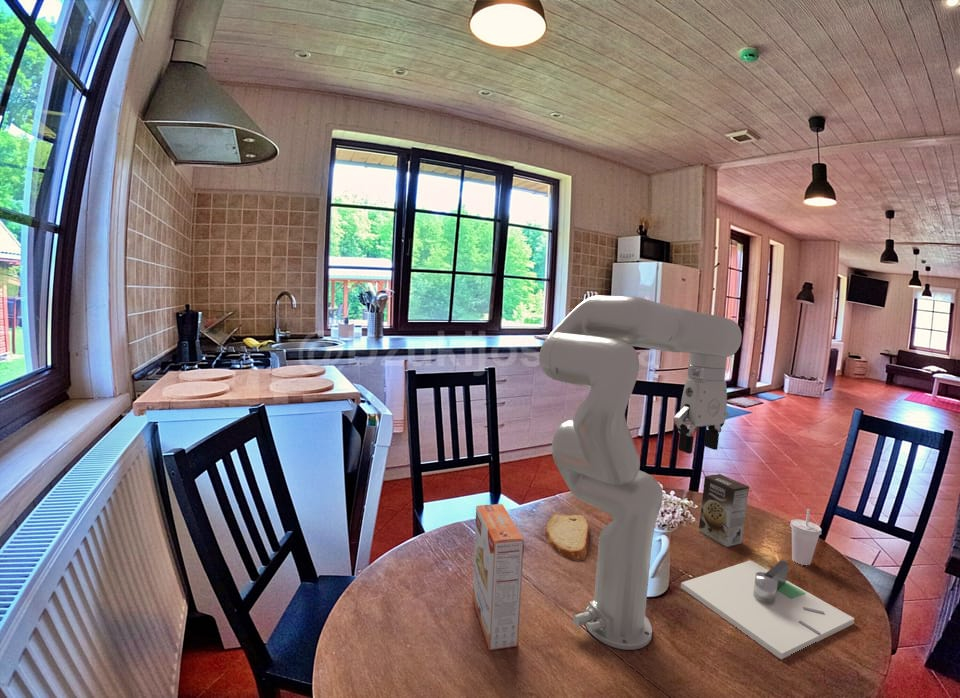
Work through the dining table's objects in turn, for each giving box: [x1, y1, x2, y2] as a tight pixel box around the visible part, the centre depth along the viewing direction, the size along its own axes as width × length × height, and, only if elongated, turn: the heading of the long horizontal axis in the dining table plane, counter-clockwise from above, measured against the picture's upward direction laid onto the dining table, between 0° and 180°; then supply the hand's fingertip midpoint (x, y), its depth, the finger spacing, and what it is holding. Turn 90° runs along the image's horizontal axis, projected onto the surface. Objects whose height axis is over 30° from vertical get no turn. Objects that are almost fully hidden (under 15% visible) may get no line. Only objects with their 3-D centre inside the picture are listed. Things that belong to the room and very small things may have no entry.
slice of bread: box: [544, 513, 590, 561], centre depth 122 cm, size 18×18×4 cm
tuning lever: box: [753, 559, 789, 604], centre depth 100 cm, size 12×4×4 cm, turn 129°
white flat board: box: [680, 560, 856, 660], centre depth 98 cm, size 24×22×1 cm
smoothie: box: [789, 508, 822, 567], centre depth 115 cm, size 6×6×14 cm
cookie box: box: [698, 473, 750, 548], centre depth 125 cm, size 9×6×16 cm
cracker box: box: [472, 503, 525, 651], centre depth 87 cm, size 14×6×21 cm, turn 13°
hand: (697, 449), depth 105 cm, fingers open, 7 cm apart
